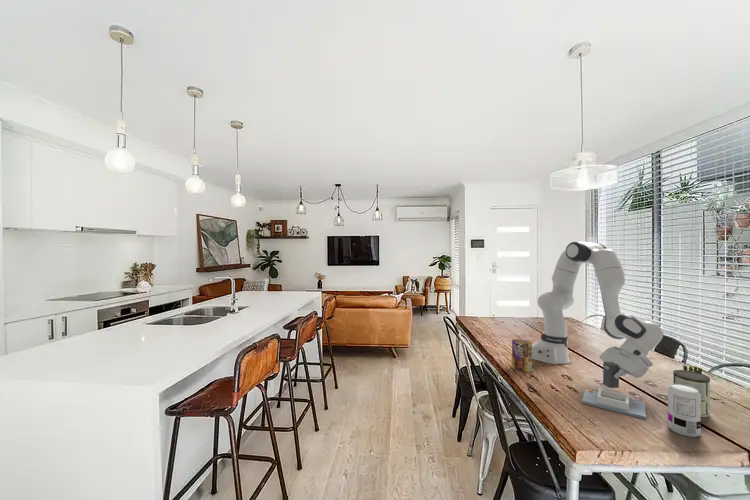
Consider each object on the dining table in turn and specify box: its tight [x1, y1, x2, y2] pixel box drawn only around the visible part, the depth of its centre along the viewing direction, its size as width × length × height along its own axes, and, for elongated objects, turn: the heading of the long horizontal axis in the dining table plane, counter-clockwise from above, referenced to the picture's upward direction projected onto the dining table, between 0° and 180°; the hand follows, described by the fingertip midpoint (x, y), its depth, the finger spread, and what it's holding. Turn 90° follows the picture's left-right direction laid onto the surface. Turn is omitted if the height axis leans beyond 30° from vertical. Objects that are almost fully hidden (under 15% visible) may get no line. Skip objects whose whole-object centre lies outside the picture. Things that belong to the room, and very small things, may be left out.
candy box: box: [511, 338, 533, 373], centre depth 168 cm, size 9×4×15 cm, turn 39°
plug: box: [602, 361, 620, 389], centre depth 142 cm, size 4×4×10 cm
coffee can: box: [672, 369, 711, 418], centre depth 125 cm, size 10×10×14 cm
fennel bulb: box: [682, 364, 703, 374], centre depth 141 cm, size 6×5×12 cm
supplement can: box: [667, 383, 702, 438], centre depth 111 cm, size 8×8×15 cm
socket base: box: [581, 387, 647, 420], centre depth 130 cm, size 20×14×4 cm
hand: (609, 374), depth 142 cm, fingers closed on plug, 4 cm apart
